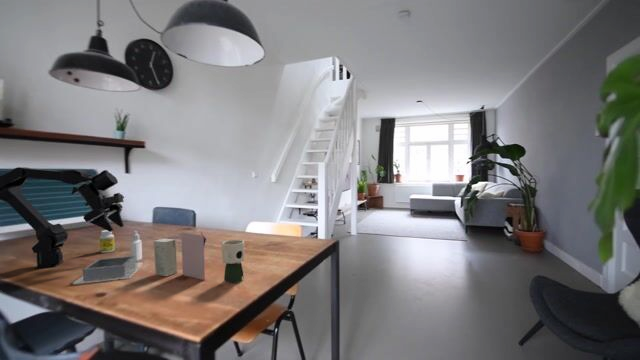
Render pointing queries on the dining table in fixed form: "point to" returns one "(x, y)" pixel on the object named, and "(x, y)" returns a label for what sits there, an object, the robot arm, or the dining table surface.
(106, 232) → the supplement bottle
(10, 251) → the dining table surface
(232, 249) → the character mug
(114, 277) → the flat grey tray
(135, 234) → the eye dropper bottle
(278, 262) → the dining table surface
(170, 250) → the skincare box
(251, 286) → the dining table surface
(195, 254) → the greeting card
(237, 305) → the dining table surface
